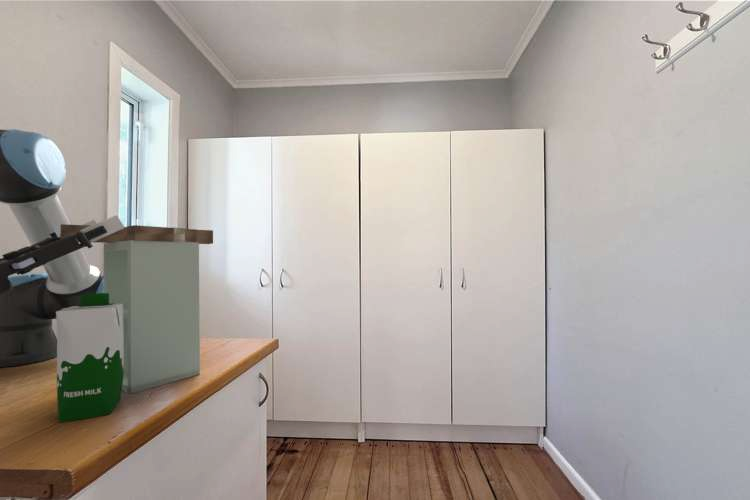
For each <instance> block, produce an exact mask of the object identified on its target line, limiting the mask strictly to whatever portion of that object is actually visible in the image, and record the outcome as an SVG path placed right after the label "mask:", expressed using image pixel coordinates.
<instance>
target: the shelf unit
mask: <svg viewBox="0 0 750 500" xmlns="http://www.w3.org/2000/svg"><path fill="white" fill-rule="evenodd" d="M103 276H104V293H109V304H112V303H115V304H121V303H122V304H123V333H124V372H123V384H122V392H126V393H129V394H130V395H131V394H135V393H138V392H141V391H145V390H149V389H151V388H155V387H159V386H163V385H167V384H169V383H173V382H176V381H180V380H185V379H187V378H191V377H194V376H198V375H200V374H201V373H200V372H201V371H200V370H201V369H200V367H201V365H200V364H201V363H200V360H201V358H200V356H201V340H200V339H201V337H200V335H201V334H200V333H199V327H200V244H199V243H197V242H166V241H134V240H130V241H121V242H112V243H103Z"/></svg>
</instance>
